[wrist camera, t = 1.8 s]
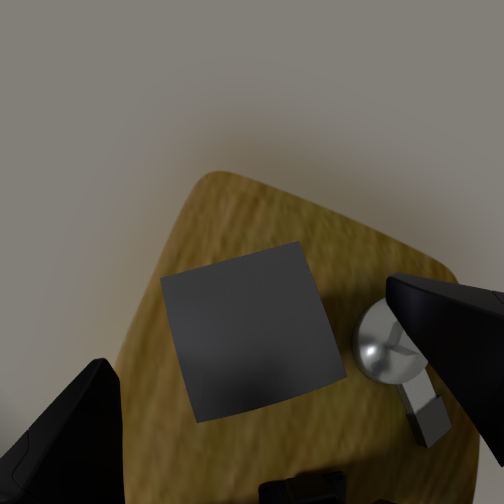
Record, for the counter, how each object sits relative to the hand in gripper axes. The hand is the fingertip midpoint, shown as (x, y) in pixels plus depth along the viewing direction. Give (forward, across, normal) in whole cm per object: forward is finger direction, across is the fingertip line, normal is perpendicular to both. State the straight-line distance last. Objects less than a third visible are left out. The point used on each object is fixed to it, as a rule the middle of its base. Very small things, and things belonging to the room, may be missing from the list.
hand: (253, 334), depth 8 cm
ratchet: (+4, -11, +13) cm, 18 cm away
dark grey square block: (+9, 0, +8) cm, 12 cm away
